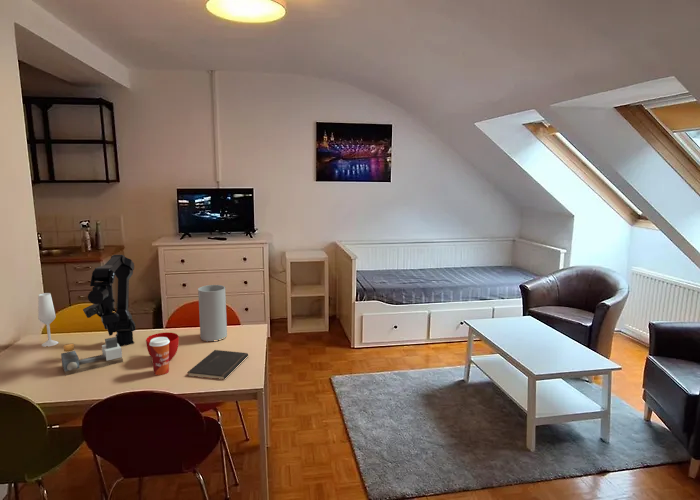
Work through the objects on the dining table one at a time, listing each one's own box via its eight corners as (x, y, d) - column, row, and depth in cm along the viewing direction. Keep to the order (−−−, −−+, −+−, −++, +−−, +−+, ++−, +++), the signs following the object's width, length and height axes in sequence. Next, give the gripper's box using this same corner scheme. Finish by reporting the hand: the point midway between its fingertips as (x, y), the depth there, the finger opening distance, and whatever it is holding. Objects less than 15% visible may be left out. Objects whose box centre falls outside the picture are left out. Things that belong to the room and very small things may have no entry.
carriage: (117, 351, 201) (116, 334, 200) (122, 357, 195) (120, 340, 194) (102, 354, 197) (101, 337, 196) (106, 360, 191) (105, 343, 190)
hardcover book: (187, 377, 182) (187, 372, 182) (214, 354, 205) (214, 349, 204) (224, 381, 179) (224, 376, 179) (248, 357, 202) (248, 353, 201)
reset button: (73, 347, 188) (73, 342, 187) (74, 350, 185) (74, 345, 185) (63, 349, 186) (62, 344, 185) (64, 352, 183) (64, 347, 182)
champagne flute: (61, 341, 216) (56, 292, 212) (53, 346, 210) (47, 296, 205) (47, 341, 216) (41, 292, 212) (38, 346, 210) (32, 296, 205)
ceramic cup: (163, 349, 209) (162, 328, 207) (185, 358, 199) (184, 336, 197) (136, 358, 198) (134, 336, 196) (158, 368, 189) (157, 345, 187)
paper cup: (159, 378, 180) (156, 344, 178) (147, 373, 184) (144, 340, 182) (175, 370, 187) (173, 338, 184) (164, 366, 191) (162, 334, 188)
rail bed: (117, 354, 202) (116, 341, 201) (123, 361, 194) (121, 348, 193) (62, 366, 189) (60, 353, 188) (65, 375, 181) (64, 361, 180)
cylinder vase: (222, 342, 217) (220, 291, 213) (196, 342, 217) (194, 291, 213) (230, 333, 230) (228, 285, 225) (205, 332, 230) (203, 284, 225)
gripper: (80, 295, 194) (83, 329, 197) (87, 305, 179) (90, 343, 182) (109, 291, 200) (112, 324, 203) (118, 301, 186) (121, 337, 189)
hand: (108, 332), depth 194 cm, fingers open, 9 cm apart
